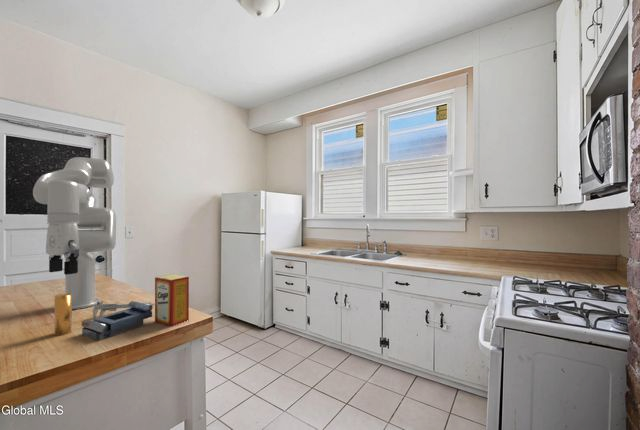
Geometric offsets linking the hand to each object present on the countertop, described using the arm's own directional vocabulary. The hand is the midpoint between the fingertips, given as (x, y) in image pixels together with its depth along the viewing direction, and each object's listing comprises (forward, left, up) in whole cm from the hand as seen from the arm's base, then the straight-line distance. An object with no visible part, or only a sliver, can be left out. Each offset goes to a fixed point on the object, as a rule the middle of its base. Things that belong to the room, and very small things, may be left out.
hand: (63, 272), depth 89 cm
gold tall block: (0, 0, -19) cm, 19 cm away
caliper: (-4, +21, -20) cm, 29 cm away
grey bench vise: (+12, +10, -19) cm, 25 cm away
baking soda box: (+22, +22, -20) cm, 37 cm away
